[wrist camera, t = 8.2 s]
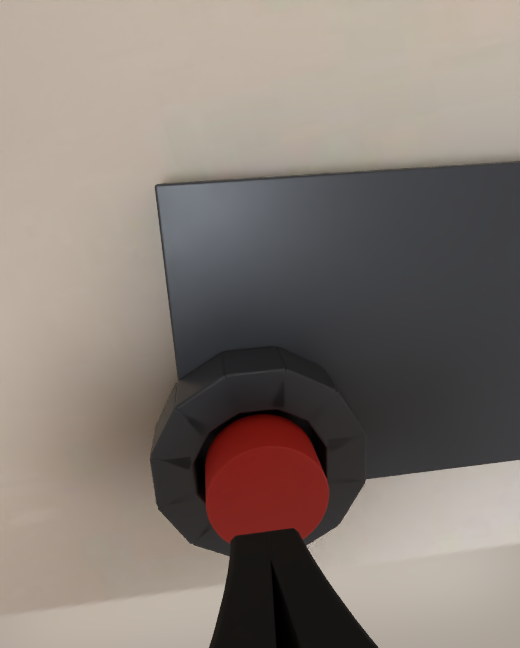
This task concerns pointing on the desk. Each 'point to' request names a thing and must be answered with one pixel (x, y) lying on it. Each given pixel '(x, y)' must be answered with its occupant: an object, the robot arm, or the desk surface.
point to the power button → (264, 478)
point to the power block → (342, 324)
